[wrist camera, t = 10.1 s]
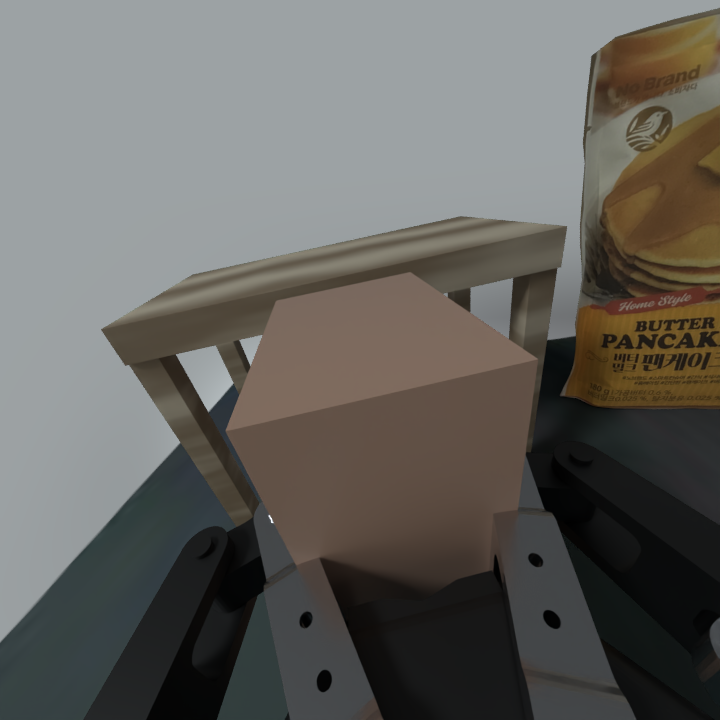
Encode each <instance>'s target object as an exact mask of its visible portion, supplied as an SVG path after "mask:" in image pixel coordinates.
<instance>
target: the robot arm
mask: <svg viewBox="0 0 720 720" xmlns="http://www.w3.org/2000/svg"><path fill="white" fill-rule="evenodd" d="M560 531H561V532H562V533H563V534H564V535H565V536H566V537H567V538H568V539H570V540H571V541H572V542H573V543H574V544H575V545H576V546H577V547H578V548H579V549H580V550H581V551H582V552H583V553H584V554H585V555H586V556H588V557H589V558H590V559H591V560H592V561H593V562H594V563H595V564H596V565H597V566H598V567H599V568H600V569H601V570H602V571H603V572H605V573H606V574H607V575H608V576H609V577H610V578H611V579H612V580H613V581H614V582H615V583H616V584H617V585H618V586H619V587H620V588H622V589H623V590H624V591H625V592H626V593H627V594H628V595H629V596H630V597H631V598H632V599H633V600H634V601H635V602H636V603H637V604H638V605H640V606H641V607H642V608H643V609H644V610H645V611H646V612H647V613H648V614H649V615H650V616H651V617H652V618H653V619H654V620H655V621H657V622H658V623H659V624H660V625H661V626H662V627H663V628H664V629H665V630H666V631H667V632H668V633H669V634H670V635H671V636H672V637H674V638H675V639H676V640H677V641H678V642H679V643H680V644H681V645H682V646H683V647H684V648H685V649H686V650H687V651H688V652H689V653H690V654H691V657H692V662H693V665H694V668H695V670H696V672H697V675H698V676H699V678H700V680H701V681H702V683H703V684H704V686H705V689H706V691H707V693H708V694H709V696H710V697H711V699H712V700H713V701H714V702H715V703H716V704H717V705H718V706H719V707H720V525H718V524H716V523H715V522H713V521H712V520H710V519H708V518H707V517H705V516H704V515H702V514H700V513H699V512H697V511H696V510H694V509H692V508H691V507H689V506H688V505H686V504H684V503H683V502H681V501H680V500H678V499H676V498H675V497H673V496H672V495H670V494H668V493H667V492H665V491H664V490H662V489H660V488H659V487H657V486H655V485H654V484H652V483H651V482H649V481H647V480H646V479H644V478H643V477H641V476H639V475H638V474H636V473H635V472H633V471H631V470H630V469H628V468H627V467H625V466H623V465H622V464H620V463H619V462H617V461H615V460H614V459H612V458H611V457H609V456H607V455H606V454H604V453H603V452H601V451H599V450H598V449H596V448H594V447H592V446H590V445H588V444H585V443H581V442H576V441H566V442H562V443H559V444H558V445H557V446H556V447H555V448H554V452H553V453H531V452H526V454H525V461H524V468H523V476H522V483H521V490H520V498H519V505H518V510H513V511H505V512H499V513H494V514H493V523H492V537H491V551H490V565H489V571H487V572H483V573H479V574H475V575H471V576H467V577H463V578H460V579H456V580H455V581H453V582H452V583H450V584H449V585H447V586H446V587H444V588H443V589H441V590H439V591H438V592H436V593H435V594H433V595H432V596H430V597H429V598H427V599H425V600H420V601H419V600H402V599H385V598H383V599H379V600H375V601H371V602H367V603H363V604H360V605H356V606H352V607H348V608H347V614H348V621H347V619H346V617H345V615H344V613H343V610H342V608H341V606H340V604H339V601H338V599H337V597H336V595H335V592H334V590H333V588H332V586H331V583H330V581H329V579H328V577H327V574H326V572H325V570H324V568H323V565H322V563H321V561H320V559H319V558H315V559H312V560H309V561H306V562H304V563H301V564H299V565H296V564H295V562H294V560H293V558H292V557H291V555H290V553H289V551H288V549H287V547H286V545H285V543H284V541H283V539H282V538H281V536H280V534H279V532H278V530H277V528H276V526H275V524H274V522H273V520H272V519H271V517H270V515H269V513H268V511H267V509H266V507H265V505H264V503H263V501H262V502H261V503H260V504H259V505H258V507H257V509H256V511H255V513H254V517H252V518H251V519H250V520H248V521H247V522H245V523H243V524H241V525H239V526H238V527H236V528H234V529H232V530H230V531H229V532H226V531H225V530H224V529H223V528H222V527H218V526H213V527H209V528H206V529H204V530H202V531H200V532H199V533H197V534H196V535H195V536H193V537H192V538H191V539H190V540H189V541H188V542H187V544H186V545H185V546H184V548H183V549H182V551H181V553H180V555H179V556H178V558H177V560H176V561H175V563H174V565H173V567H172V568H171V570H170V572H169V573H168V575H167V577H166V579H165V580H164V582H163V584H162V585H161V587H160V589H159V591H158V592H157V594H156V596H155V598H154V599H153V601H152V603H151V604H150V606H149V608H148V610H147V611H146V613H145V615H144V616H143V618H142V620H141V622H140V623H139V625H138V627H137V628H136V630H135V632H134V634H133V635H132V637H131V639H130V641H129V642H128V644H127V646H126V647H125V649H124V651H123V653H122V654H121V656H120V658H119V659H118V661H117V663H116V665H115V666H114V668H113V670H112V672H111V673H110V675H109V677H108V678H107V680H106V682H105V684H104V685H103V687H102V689H101V690H100V692H99V694H98V696H97V697H96V699H95V701H94V702H93V704H92V706H91V708H90V709H89V711H88V713H87V715H86V716H85V718H84V720H217V717H218V714H219V711H220V708H221V705H222V702H223V699H224V696H225V693H226V690H227V687H228V684H229V681H230V678H231V675H232V672H233V669H234V666H235V662H236V659H237V656H238V653H239V650H240V647H241V644H242V641H243V638H244V635H245V632H246V629H247V626H248V623H249V620H250V617H251V614H252V611H253V608H254V605H255V602H256V599H257V596H258V595H259V594H260V593H262V592H263V591H264V595H265V600H266V605H267V610H268V614H269V619H270V624H271V629H272V634H273V639H274V644H275V648H276V653H277V658H278V663H279V668H280V673H281V677H282V682H283V687H284V692H285V697H286V702H287V707H288V711H289V712H288V714H287V716H286V718H285V720H714V719H713V718H711V717H710V716H709V715H707V714H706V713H704V712H703V711H702V710H700V709H699V708H697V707H696V706H695V705H693V704H692V703H690V702H689V701H688V700H686V699H685V698H683V697H682V696H681V695H679V694H678V693H676V692H675V691H674V690H672V689H671V688H669V687H668V686H667V685H665V684H664V683H662V682H661V681H660V680H658V679H657V678H655V677H654V676H653V675H651V674H650V673H648V672H647V671H646V670H644V669H643V668H642V667H640V666H639V665H637V664H636V663H635V662H633V661H632V660H630V659H629V658H628V657H626V656H625V655H623V654H622V653H621V652H619V651H618V650H616V649H615V648H614V647H612V646H611V645H609V644H608V643H607V642H605V641H604V640H602V639H601V638H600V637H599V636H598V633H597V630H596V628H595V625H594V622H593V619H592V617H591V614H590V611H589V609H588V606H587V603H586V600H585V598H584V595H583V592H582V589H581V587H580V584H579V581H578V578H577V576H576V573H575V570H574V568H573V565H572V562H571V559H570V557H569V554H568V551H567V548H566V546H565V543H564V540H563V538H562V535H561V532H560Z"/></svg>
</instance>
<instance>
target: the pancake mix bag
mask: <svg viewBox="0 0 720 720" xmlns="http://www.w3.org/2000/svg"><path fill="white" fill-rule="evenodd" d="M583 148H584V159H585V168H584V181H583V193H582V207H581V222H580V248H581V260H582V261H581V262H582V283H581V290H580V296H579V303H578V309H577V316H576V322H575V328H576V350H575V358H574V364H573V367H572V370H571V373H570V376H569V378H568V380H567V382H566V384H565V385H564V388H563V390H562V392H561V394H560V396H564V397H572V398H578V399H580V400H582V401H584V402H586V403H588V404H590V405H592V406H596V407H605V408H628V409H682V408H696V409H720V8H718V9H714V10H710V11H706V12H702V13H698V14H694V15H690V16H686V17H681V18H678V19H674V20H670V21H667V22H663V23H660V24H656V25H653V26H649V27H646V28H643V29H640V30H637V31H633V32H630V33H627V34H624V35H621V36H618V37H615V38H614V39H613V40H612V41H610V42H609V43H608V44H606V45H605V46H604V47H603V48H601V49H600V50H599V51H597V52H596V53H595V54H593V55H592V57H591V67H590V75H589V84H588V92H587V105H586V116H585V126H584V137H583Z"/></svg>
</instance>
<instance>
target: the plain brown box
mask: <svg viewBox="0 0 720 720" xmlns="http://www.w3.org/2000/svg"><path fill="white" fill-rule="evenodd" d="M537 365H538V359H537V358H536V357H534V356H533V355H531V354H530V353H528V352H527V351H525V350H524V349H523V348H521V347H520V346H518V345H517V344H515V343H514V342H512V341H511V340H509V339H508V338H506V337H505V336H503V335H502V334H500V333H499V332H497V331H496V330H495V329H493V328H492V327H490V326H489V325H487V324H486V323H484V322H483V321H481V320H480V319H478V318H477V317H475V316H474V315H473V314H471V313H470V312H468V311H467V310H465V309H464V308H462V307H461V306H459V305H458V304H457V303H455V302H454V301H452V300H451V299H449V298H448V297H446V296H445V295H443V294H442V293H440V292H439V291H437V290H436V289H434V288H433V287H432V286H430V285H429V284H427V283H426V282H424V281H423V280H421V279H420V278H418V277H417V276H415V275H414V274H412V273H411V272H408V273H404V274H399V275H394V276H390V277H385V278H380V279H376V280H371V281H366V282H362V283H357V284H352V285H348V286H343V287H338V288H333V289H329V290H324V291H319V292H315V293H310V294H305V295H301V296H296V297H291V298H287V299H282V300H277V301H276V302H275V305H274V308H273V310H272V313H271V315H270V318H269V320H268V323H267V326H266V328H265V331H264V333H263V336H262V339H261V341H260V344H259V346H258V349H257V352H256V354H255V357H254V359H253V362H252V364H251V367H250V370H249V372H248V375H247V377H246V380H245V382H244V385H243V388H242V390H241V393H240V395H239V398H238V401H237V403H236V406H235V408H234V411H233V413H232V416H231V419H230V421H229V424H228V426H227V429H226V433H227V435H228V437H229V439H230V441H231V443H232V444H233V446H234V448H235V450H236V452H237V454H238V456H239V458H240V460H241V462H242V463H243V465H244V467H245V469H246V471H247V473H248V475H249V477H250V479H251V481H252V482H253V484H254V486H255V488H256V490H257V492H258V494H259V496H260V498H261V500H262V501H263V503H264V505H265V507H266V509H267V511H268V513H269V515H270V517H271V519H272V520H273V522H274V524H275V526H276V528H277V530H278V532H279V534H280V536H281V538H282V539H283V541H284V543H285V545H286V547H287V549H288V551H289V553H290V555H291V557H292V558H293V560H294V562H295V564H296V565H299V564H301V563H304V562H306V561H309V560H312V559H315V558H319V559H320V561H321V563H322V565H323V568H324V570H325V572H326V574H327V577H328V579H329V581H330V583H331V586H332V588H333V590H334V592H335V595H336V597H337V599H338V601H339V604H340V606H341V608H342V610H343V613H344V615H345V617H346V619H347V621H348V614H347V608H348V607H352V606H356V605H360V604H363V603H367V602H371V601H375V600H379V599H383V598H385V599H402V600H419V601H420V600H425V599H427V598H429V597H430V596H432V595H433V594H435V593H436V592H438V591H439V590H441V589H443V588H444V587H446V586H447V585H449V584H450V583H452V582H453V581H455V580H456V579H460V578H463V577H467V576H471V575H475V574H479V573H483V572H487V571H489V565H490V551H491V537H492V523H493V514H494V513H499V512H505V511H513V510H518V505H519V498H520V490H521V483H522V476H523V468H524V461H525V454H526V446H527V439H528V431H529V424H530V417H531V409H532V402H533V395H534V387H535V380H536V373H537Z"/></svg>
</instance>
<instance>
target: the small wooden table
mask: <svg viewBox="0 0 720 720" xmlns="http://www.w3.org/2000/svg"><path fill="white" fill-rule="evenodd" d="M566 231H567V226H559V225H547V224H537V223H527V222H515V221H505V220H493V219H484V218H472V217H456V218H451V219H447V220H442V221H438V222H433V223H428V224H424V225H419V226H414V227H410V228H405V229H401V230H396V231H391V232H388V233H382V234H378V235H373V236H368V237H364V238H359V239H355V240H350V241H346V242H341V243H336V244H332V245H327V246H322V247H318V248H313V249H309V250H304V251H299V252H295V253H290V254H286V255H281V256H276V257H272V258H267V259H263V260H258V261H253V262H249V263H244V264H240V265H235V266H230V267H226V268H221V269H217V270H212V271H208V272H203V273H199V274H194V275H191V276H190V277H188V278H186V279H185V280H183V281H181V282H180V283H178V284H176V285H175V286H173V287H171V288H170V289H168V290H166V291H165V292H163V293H161V294H160V295H158V296H156V297H155V298H153V299H151V300H150V301H148V302H146V303H145V304H143V305H141V306H140V307H138V308H136V309H135V310H133V311H131V312H130V313H128V314H126V315H124V316H123V317H121V318H120V319H118V320H116V321H115V322H113V323H111V324H109V325H108V326H106V327H104V328H103V329H101V330H102V331H103V333H104V335H105V336H106V338H107V339H108V341H109V342H110V343H111V345H112V347H113V348H114V350H115V351H116V353H117V354H118V355H119V357H120V358H121V360H122V361H123V363H124V364H125V366H126V365H130V367H131V368H132V370H133V371H134V373H135V374H136V376H137V377H138V379H139V380H140V382H141V383H142V385H143V387H144V388H145V390H146V391H147V393H148V394H149V395H150V397H151V398H152V400H153V401H154V403H155V405H156V406H157V408H158V409H159V411H160V412H161V413H162V415H163V416H164V418H165V420H166V421H167V423H168V424H169V426H170V427H171V429H172V430H173V432H174V433H175V435H176V436H177V438H178V439H179V441H180V442H181V444H182V445H183V447H184V448H185V450H186V451H187V453H188V454H189V456H190V457H191V459H192V460H193V462H194V463H195V465H196V466H197V468H198V469H199V471H200V472H201V474H202V475H203V477H204V478H205V480H206V481H207V483H208V484H209V486H210V487H211V489H212V490H213V492H214V493H215V495H216V496H217V498H218V499H219V501H220V502H221V504H222V505H223V507H224V509H225V510H226V512H227V513H228V515H229V516H230V518H231V519H232V521H233V522H234V524H235V525H236V527H238V526H239V525H241V524H243V523H245V522H247V521H248V520H250V519H251V518H252V517H254V513H255V511H256V509H257V507H258V505H259V502H258V500H257V498H256V497H255V495H254V493H253V491H252V489H251V488H250V486H249V484H248V482H247V481H246V479H245V477H244V475H243V473H242V472H241V470H240V468H239V466H238V465H237V463H236V461H235V459H234V457H233V456H232V454H231V452H230V450H229V448H228V447H227V445H226V443H225V441H224V440H223V438H222V436H221V434H220V432H219V431H218V429H217V427H216V425H215V424H214V422H213V420H212V418H211V416H210V415H209V413H208V411H207V409H206V408H205V406H204V404H203V402H202V401H201V399H200V397H199V395H198V394H197V392H196V390H195V388H194V386H193V384H192V383H191V381H190V379H189V377H188V376H187V374H186V373H185V370H184V368H183V367H182V365H181V364H180V361H179V360H178V358H177V356H176V354H179V353H183V352H188V351H192V350H196V349H201V348H205V347H210V346H214V345H216V347H217V349H218V351H219V353H220V355H221V357H222V359H223V361H224V364H225V366H226V368H227V370H228V372H229V374H230V376H231V378H232V380H233V382H234V384H235V387H236V389H237V391H238V393H239V395H240V393H241V390H242V388H243V385H244V382H245V380H246V377H247V375H248V372H249V370H250V364H249V362H248V360H247V357H246V355H245V353H244V350H243V348H242V346H241V343H240V341H239V340H241V339H245V338H250V337H254V336H258V335H263V333H264V331H265V328H266V326H267V323H268V320H269V318H270V315H271V313H272V310H273V308H274V305H275V302H276V301H277V300H282V299H287V298H291V297H296V296H301V295H305V294H310V293H315V292H319V291H324V290H329V289H333V288H338V287H343V286H348V285H352V284H357V283H362V282H366V281H371V280H376V279H380V278H385V277H390V276H394V275H399V274H404V273H408V272H411V273H412V274H414V275H415V276H417V277H418V278H420V279H421V280H423V281H424V282H426V283H427V284H429V285H430V286H432V287H433V288H434V289H436V290H437V291H439V292H440V293H442V294H444V293H448V298H449V299H451V300H452V301H454V302H455V303H457V304H458V305H459V306H461V307H462V308H464V309H465V310H467V311H468V312H470V287H475V286H479V285H484V284H488V283H492V282H497V281H501V280H505V279H510V278H513V290H512V303H511V318H510V331H509V340H511V341H512V342H514V343H515V344H517V345H518V346H520V347H521V348H523V349H524V350H525V351H527V352H528V353H530V354H531V355H533V356H534V357H536V358H537V359H538V365H537V373H536V380H535V387H534V395H533V402H532V409H531V417H530V424H529V431H528V439H527V446H526V452H531V448H532V441H533V434H534V427H535V420H536V413H537V406H538V399H539V392H540V385H541V378H542V371H543V364H544V357H545V350H546V343H547V336H548V329H549V323H550V316H551V308H552V302H553V295H554V287H555V281H556V274H557V268H558V267H561V263H562V257H563V251H564V244H565V237H566Z"/></svg>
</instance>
